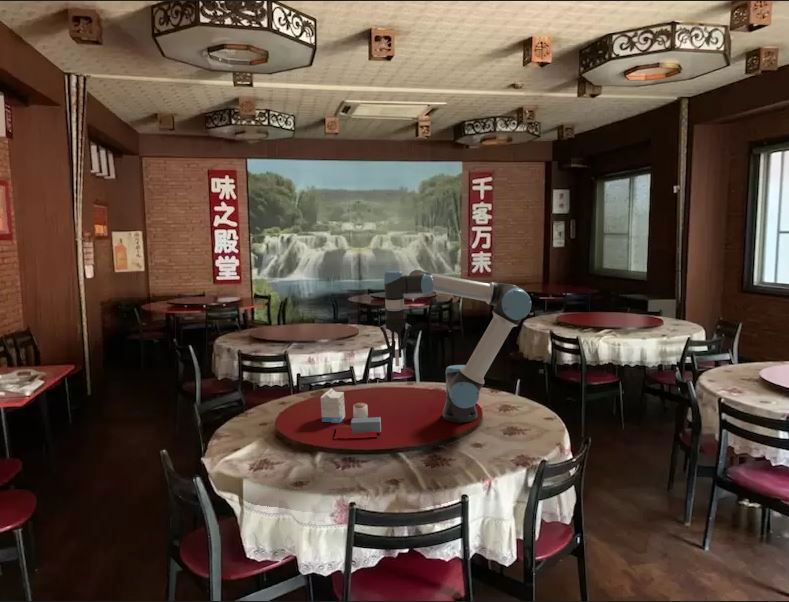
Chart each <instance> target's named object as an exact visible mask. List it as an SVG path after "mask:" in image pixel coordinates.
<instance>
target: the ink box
mask: <svg viewBox="0 0 789 602" xmlns="http://www.w3.org/2000/svg"><path fill="white" fill-rule="evenodd" d="M344 395H345V392H344V391H335V390H334V389H333V388H332V387H331V388H330V389H329V390H328V391H326V392H324V393H323V394H322V395H321V396H320V410H321V422H331V423H330V424H341V423H340V422H342V421H343V420H344V419H345V418H346V410H345V409H346V407H345V396H344Z"/></svg>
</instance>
